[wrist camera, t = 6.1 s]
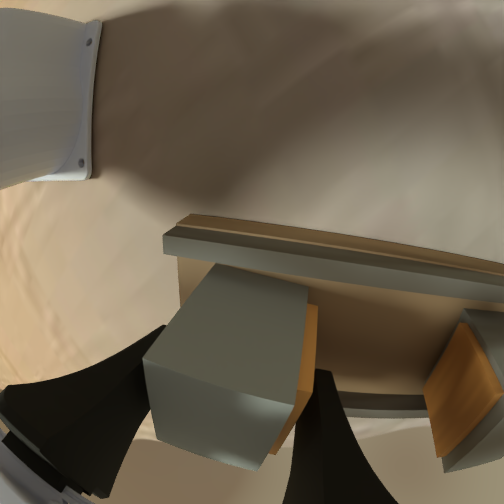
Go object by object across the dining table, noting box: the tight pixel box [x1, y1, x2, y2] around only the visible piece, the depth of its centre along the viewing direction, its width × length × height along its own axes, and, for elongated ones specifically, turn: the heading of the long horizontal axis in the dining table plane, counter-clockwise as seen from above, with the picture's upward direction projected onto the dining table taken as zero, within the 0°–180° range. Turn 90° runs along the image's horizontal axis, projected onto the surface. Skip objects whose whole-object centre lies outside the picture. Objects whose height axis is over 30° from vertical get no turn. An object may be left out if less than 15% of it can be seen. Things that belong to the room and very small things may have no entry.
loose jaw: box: [143, 263, 318, 471], centre depth 10 cm, size 5×4×6 cm
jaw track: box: [163, 214, 504, 473], centre depth 10 cm, size 9×18×8 cm, turn 86°
